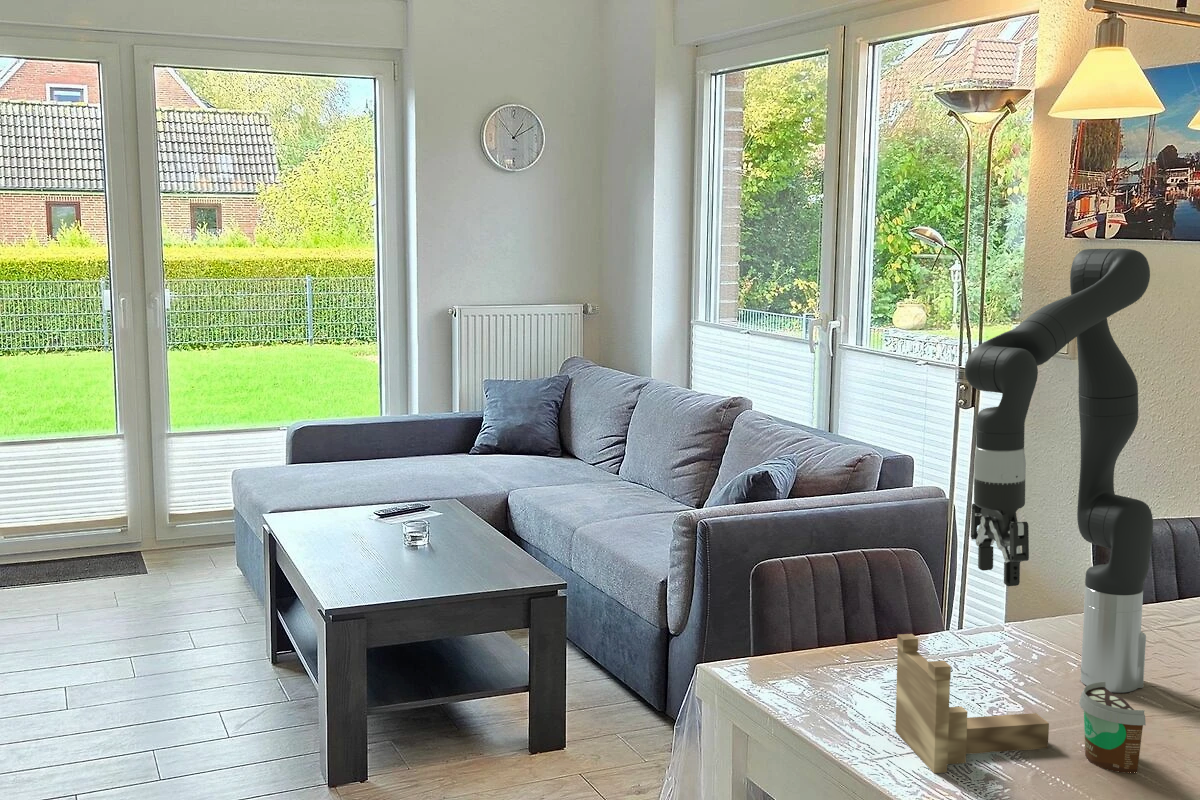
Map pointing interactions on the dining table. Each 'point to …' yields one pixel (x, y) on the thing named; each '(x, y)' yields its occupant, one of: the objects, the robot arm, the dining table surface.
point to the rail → (1006, 733)
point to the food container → (1111, 729)
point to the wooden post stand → (928, 708)
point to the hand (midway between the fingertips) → (998, 577)
